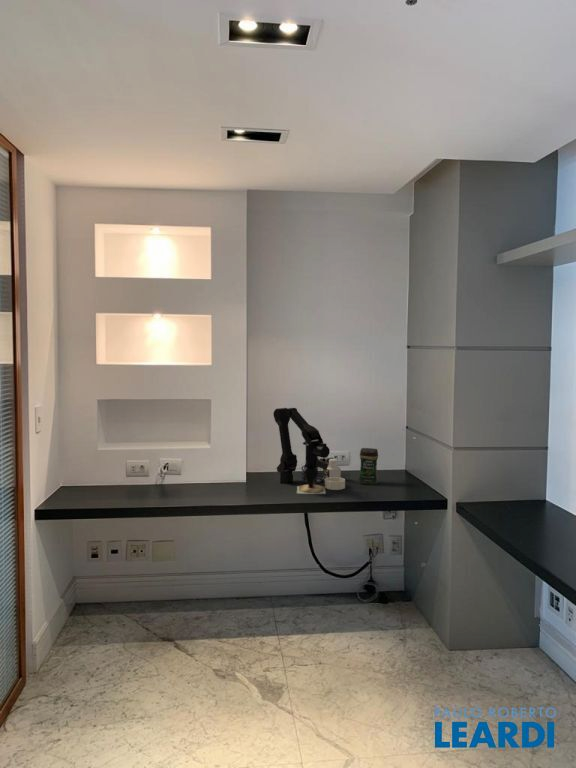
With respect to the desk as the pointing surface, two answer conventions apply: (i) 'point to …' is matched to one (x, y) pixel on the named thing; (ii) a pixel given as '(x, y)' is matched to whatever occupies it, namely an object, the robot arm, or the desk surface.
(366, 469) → the coffee jar
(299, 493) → the mat
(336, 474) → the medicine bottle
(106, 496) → the desk surface
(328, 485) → the bowl
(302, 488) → the lid
